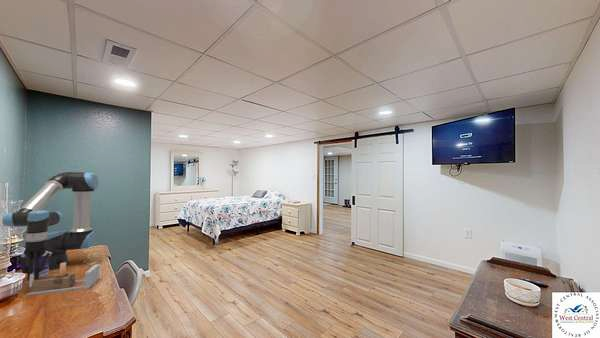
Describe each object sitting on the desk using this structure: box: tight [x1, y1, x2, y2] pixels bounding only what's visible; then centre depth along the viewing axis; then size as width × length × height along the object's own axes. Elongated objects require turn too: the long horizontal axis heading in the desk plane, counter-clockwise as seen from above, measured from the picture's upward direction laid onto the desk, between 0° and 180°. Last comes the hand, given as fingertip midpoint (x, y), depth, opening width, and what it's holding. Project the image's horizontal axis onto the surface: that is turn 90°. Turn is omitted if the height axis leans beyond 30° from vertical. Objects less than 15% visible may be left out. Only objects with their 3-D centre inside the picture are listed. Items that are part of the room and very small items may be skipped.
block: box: [30, 272, 76, 292], centre depth 125 cm, size 8×14×6 cm, turn 113°
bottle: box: [34, 254, 50, 277], centre depth 132 cm, size 7×6×17 cm
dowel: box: [58, 262, 67, 278], centre depth 127 cm, size 2×2×12 cm
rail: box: [26, 263, 101, 296], centre depth 127 cm, size 13×26×10 cm, turn 113°
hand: (32, 285), depth 122 cm, fingers closed
